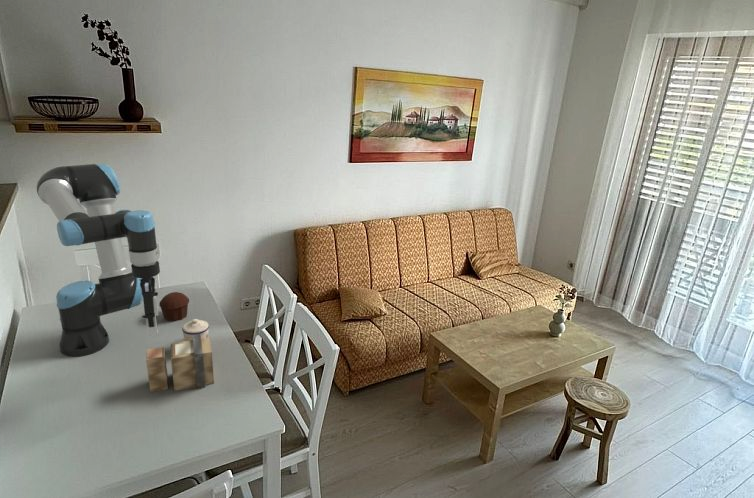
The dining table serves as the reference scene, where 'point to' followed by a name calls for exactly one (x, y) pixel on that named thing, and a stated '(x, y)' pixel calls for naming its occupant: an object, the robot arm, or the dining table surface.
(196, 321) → the teacup with lid
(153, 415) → the dining table surface
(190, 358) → the tan wooden crate
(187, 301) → the muffin
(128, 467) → the dining table surface
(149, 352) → the pink-ended wooden block
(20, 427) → the dining table surface
